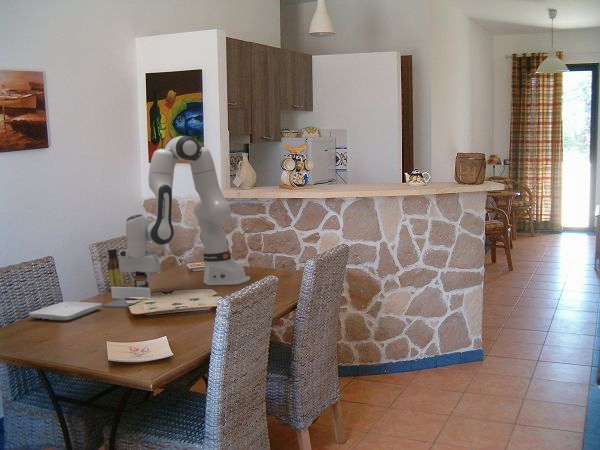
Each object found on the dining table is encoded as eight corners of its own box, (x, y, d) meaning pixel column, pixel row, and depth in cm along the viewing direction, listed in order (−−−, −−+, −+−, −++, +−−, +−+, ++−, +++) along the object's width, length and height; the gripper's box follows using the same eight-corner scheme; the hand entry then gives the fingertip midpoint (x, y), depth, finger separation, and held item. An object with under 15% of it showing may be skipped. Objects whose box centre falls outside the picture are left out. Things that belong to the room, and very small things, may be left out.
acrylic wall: (151, 298, 318) (149, 287, 317) (149, 299, 316) (148, 288, 316) (113, 297, 326) (112, 286, 325) (112, 298, 325) (110, 287, 324)
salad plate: (104, 310, 304) (103, 302, 304) (68, 323, 285) (67, 315, 285) (65, 308, 313) (64, 300, 313) (28, 321, 294) (27, 313, 294)
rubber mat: (142, 300, 315) (142, 299, 315) (125, 307, 304) (125, 306, 304) (119, 300, 320) (119, 298, 320) (102, 306, 309) (102, 305, 309)
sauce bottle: (126, 288, 345) (122, 247, 342) (122, 291, 339) (117, 249, 336) (113, 289, 346) (108, 247, 343) (108, 291, 340) (103, 250, 337)
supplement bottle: (136, 294, 330) (134, 269, 328) (150, 293, 330) (147, 268, 329) (135, 297, 324) (132, 272, 322) (148, 295, 324) (145, 271, 323)
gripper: (161, 250, 323) (164, 280, 325) (124, 250, 331) (127, 279, 333) (153, 252, 317) (156, 283, 319) (115, 252, 326) (118, 282, 327)
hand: (141, 281), depth 326 cm, fingers closed on supplement bottle, 6 cm apart
